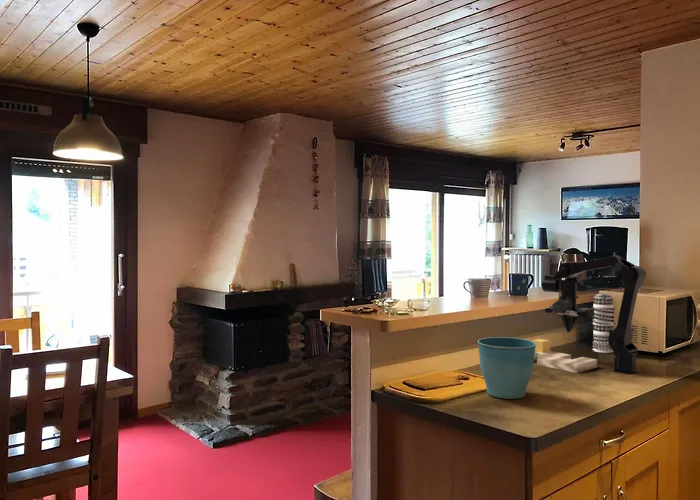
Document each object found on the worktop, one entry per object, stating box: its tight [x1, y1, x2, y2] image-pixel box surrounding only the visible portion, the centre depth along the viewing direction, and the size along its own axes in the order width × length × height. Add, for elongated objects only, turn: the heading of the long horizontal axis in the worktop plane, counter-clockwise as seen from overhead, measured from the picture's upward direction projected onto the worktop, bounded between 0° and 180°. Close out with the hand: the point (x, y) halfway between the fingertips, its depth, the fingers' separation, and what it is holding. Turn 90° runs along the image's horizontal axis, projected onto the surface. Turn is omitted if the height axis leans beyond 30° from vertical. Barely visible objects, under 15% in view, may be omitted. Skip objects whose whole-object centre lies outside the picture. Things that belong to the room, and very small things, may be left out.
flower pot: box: [477, 336, 536, 400], centre depth 180 cm, size 18×18×17 cm
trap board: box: [534, 350, 598, 374], centre depth 223 cm, size 27×14×6 cm, turn 36°
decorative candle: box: [591, 292, 615, 354], centre depth 246 cm, size 9×9×25 cm
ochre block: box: [531, 338, 551, 353], centre depth 232 cm, size 5×5×4 cm
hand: (568, 332), depth 225 cm, fingers closed
